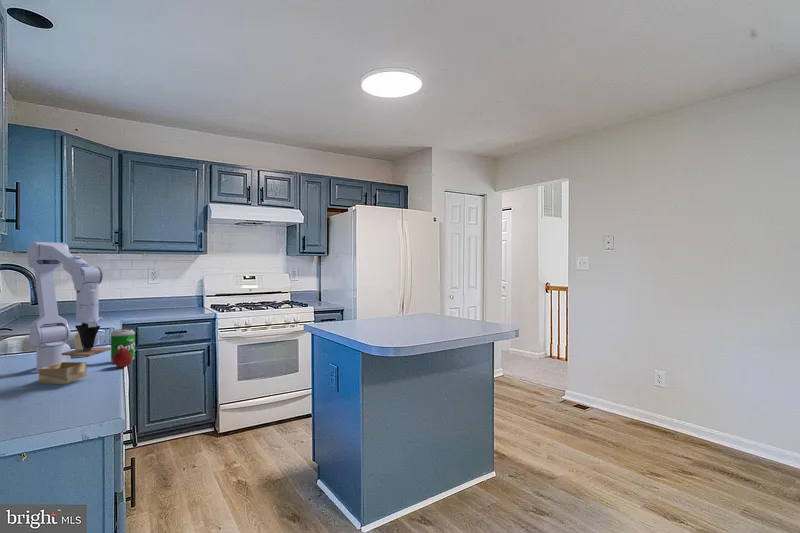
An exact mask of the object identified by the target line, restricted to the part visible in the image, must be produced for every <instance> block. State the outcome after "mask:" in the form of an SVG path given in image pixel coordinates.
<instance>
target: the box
mask: <svg viewBox="0 0 800 533" xmlns="http://www.w3.org/2000/svg"><path fill="white" fill-rule="evenodd" d="M84 377H85V378H86V377H87V362H86V361H71V362H60V363H57V364H53V365H50V366H47V367H44V368H40V369H39V373H38V385H39V384H40V385H41V384H44V385H45V384H49V385H50V384H51V385H52V384H53V385H54V384H55V385H56V384H57V385H58V384H59V385H60V384H61V385H63V384H64V385H65V384H69V383H71V382H75V381H76V380H79V379H82V378H84Z"/></svg>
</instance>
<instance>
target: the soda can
mask: <svg viewBox="0 0 800 533" xmlns="http://www.w3.org/2000/svg"><path fill="white" fill-rule="evenodd" d="M135 335H136V332H135V331H134V329H132V328H121V329H120V328H118V329H114V330H113V331H112V332H111V334H110V348H111V350H110V361H111V362H112V363H113V356H114V354H115V353H116V352H117V351H118V350H119V349H120V348H121V346H123V347H124V348H125V349H127V350H129V352H130V353H131V354H132V361H131V363H132V362H133V361H134V360H135V356H136V353H135V352H136V349H135V348H136V347H135V346H136V344H135V343H136V339H135V338H136V336H135Z"/></svg>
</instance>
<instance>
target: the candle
mask: <svg viewBox="0 0 800 533" xmlns="http://www.w3.org/2000/svg"><path fill="white" fill-rule="evenodd" d="M81 348H83V347H82V344H81V339H80V335H79V333H78V332H76V333H75V335H74V350H77V349H81ZM74 357H75V358H87V356H74Z"/></svg>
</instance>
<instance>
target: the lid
mask: <svg viewBox="0 0 800 533" xmlns="http://www.w3.org/2000/svg"><path fill="white" fill-rule="evenodd" d="M108 351H111V347H93V348H87V349H85V348H84V346H83V348H81V349H77V350H75V349H73V350H71V351H69V352H65V353H62V355H69V356H71V357H75V356H87V357H88V356H89V357H92V356H95V355H99V354H102V353H105V352H108ZM87 357H86V358H87ZM89 357H88V358H89Z"/></svg>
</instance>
